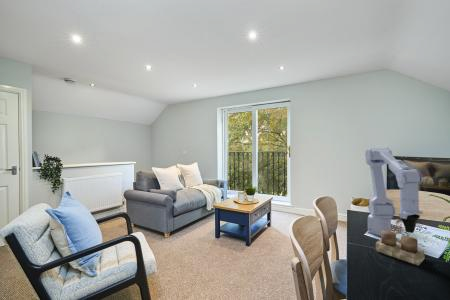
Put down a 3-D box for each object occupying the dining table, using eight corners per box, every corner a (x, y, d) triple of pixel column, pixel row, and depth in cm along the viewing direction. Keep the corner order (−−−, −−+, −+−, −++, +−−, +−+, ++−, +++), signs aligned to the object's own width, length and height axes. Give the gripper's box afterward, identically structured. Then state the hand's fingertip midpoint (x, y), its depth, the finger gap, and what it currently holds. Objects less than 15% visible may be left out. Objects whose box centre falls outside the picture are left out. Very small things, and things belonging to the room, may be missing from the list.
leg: (415, 261, 80) (414, 242, 80) (398, 256, 85) (398, 237, 85) (420, 257, 83) (419, 239, 83) (404, 252, 87) (403, 234, 87)
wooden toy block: (375, 250, 90) (375, 232, 90) (382, 245, 94) (382, 228, 94) (418, 265, 79) (418, 244, 78) (424, 258, 83) (424, 239, 83)
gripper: (416, 204, 77) (416, 240, 77) (427, 197, 85) (428, 230, 85) (392, 200, 83) (393, 234, 83) (405, 194, 91) (406, 225, 91)
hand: (409, 232), depth 85 cm, fingers closed
